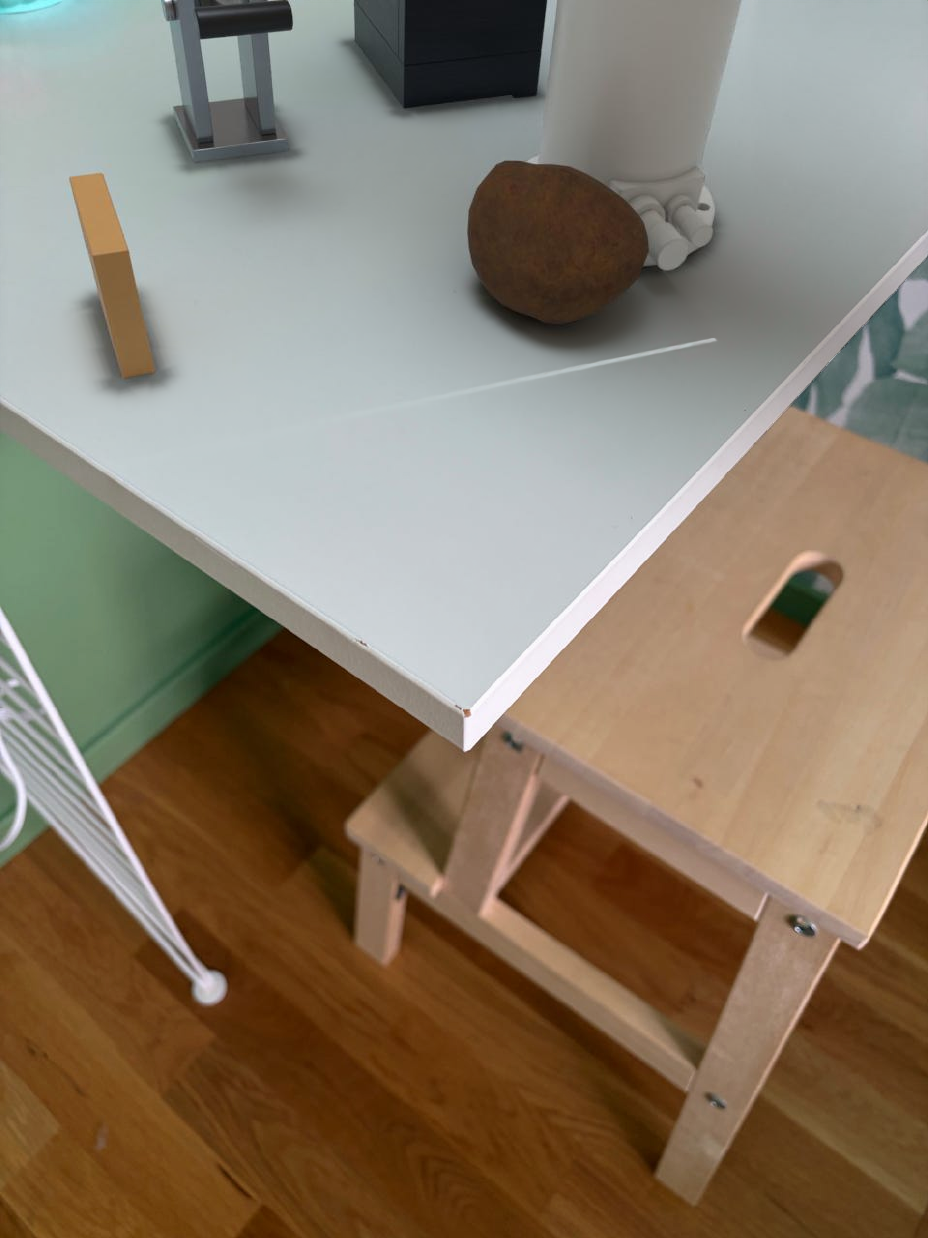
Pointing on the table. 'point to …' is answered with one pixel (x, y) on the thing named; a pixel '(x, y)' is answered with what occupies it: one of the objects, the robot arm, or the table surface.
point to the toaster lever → (240, 18)
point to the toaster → (452, 47)
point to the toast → (113, 274)
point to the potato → (553, 241)
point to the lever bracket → (229, 121)
